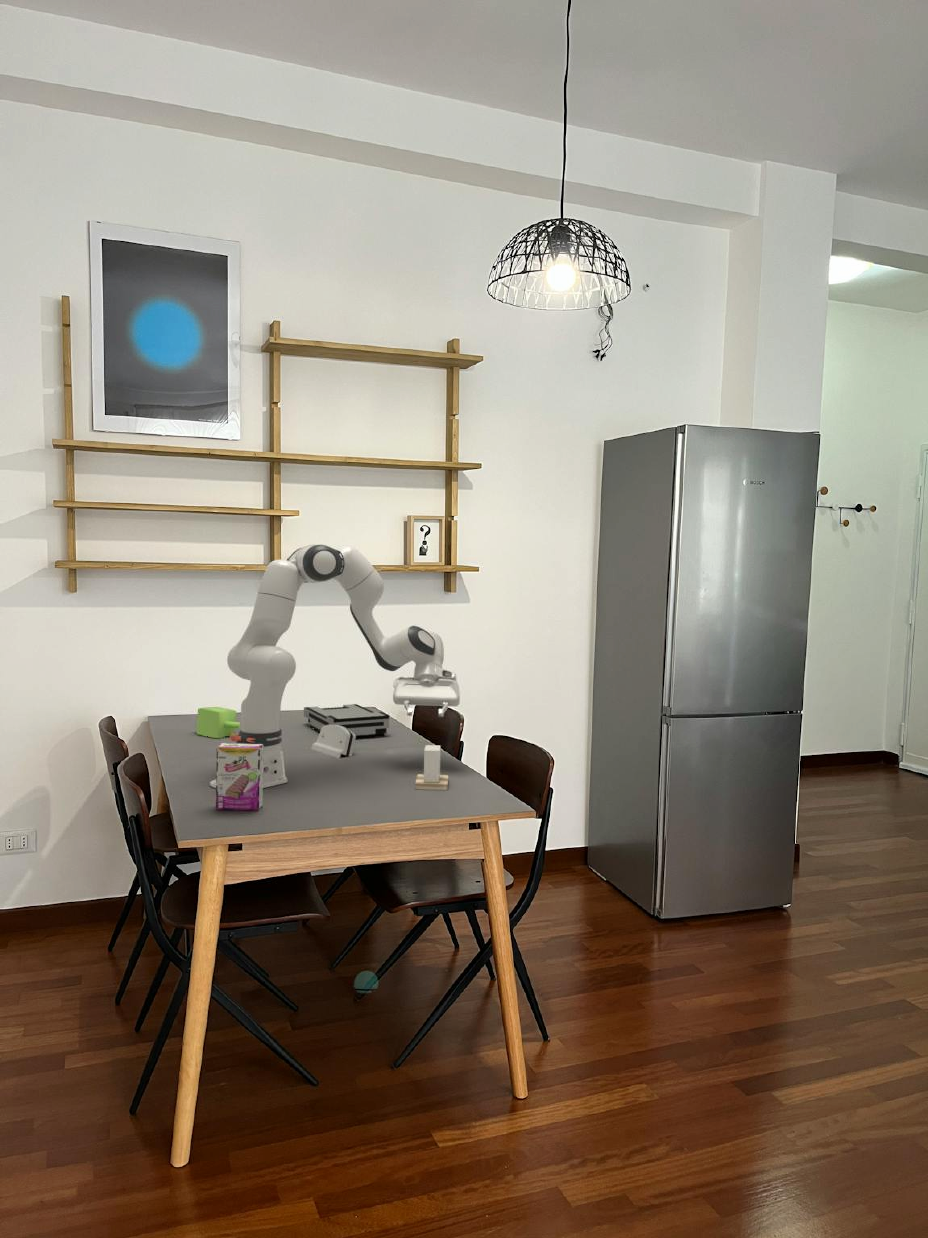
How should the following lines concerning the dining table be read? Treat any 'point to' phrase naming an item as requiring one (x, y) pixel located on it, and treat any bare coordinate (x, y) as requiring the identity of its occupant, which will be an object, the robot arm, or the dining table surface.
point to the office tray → (349, 719)
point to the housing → (432, 763)
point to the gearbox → (216, 722)
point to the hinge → (335, 741)
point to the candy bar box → (239, 776)
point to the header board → (431, 783)
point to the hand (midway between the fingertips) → (425, 715)
